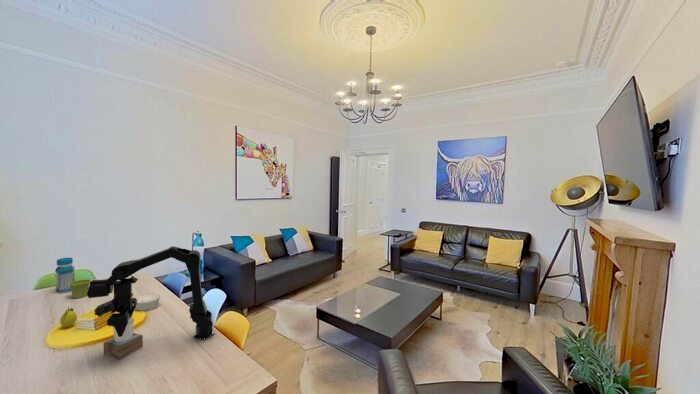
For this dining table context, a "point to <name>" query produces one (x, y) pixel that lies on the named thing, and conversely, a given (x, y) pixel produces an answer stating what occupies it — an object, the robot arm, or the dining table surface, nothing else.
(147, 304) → the ramekin
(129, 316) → the robot arm
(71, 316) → the green pear
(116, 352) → the walnut plinth
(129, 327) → the shot glass
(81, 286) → the plant pot
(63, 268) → the beverage bottle
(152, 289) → the dining table surface
